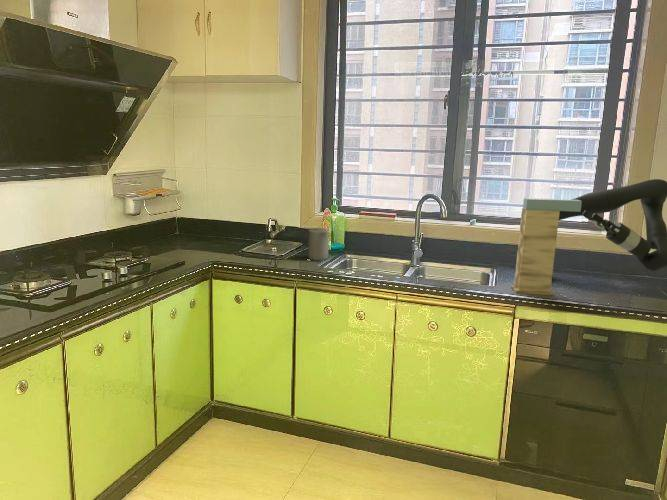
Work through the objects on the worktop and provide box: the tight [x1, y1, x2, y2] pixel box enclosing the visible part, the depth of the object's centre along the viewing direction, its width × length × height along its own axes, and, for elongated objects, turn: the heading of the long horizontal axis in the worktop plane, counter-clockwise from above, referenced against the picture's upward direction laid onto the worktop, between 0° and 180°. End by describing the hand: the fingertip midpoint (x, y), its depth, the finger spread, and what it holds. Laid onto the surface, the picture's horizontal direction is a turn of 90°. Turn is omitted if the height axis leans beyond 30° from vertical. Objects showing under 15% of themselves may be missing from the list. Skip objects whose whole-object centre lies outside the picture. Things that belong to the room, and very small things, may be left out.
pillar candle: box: [307, 227, 330, 261], centre depth 251 cm, size 10×10×15 cm
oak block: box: [510, 207, 560, 296], centre depth 202 cm, size 8×14×32 cm, turn 87°
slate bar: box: [522, 197, 582, 212], centre depth 198 cm, size 4×20×4 cm, turn 87°
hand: (588, 214), depth 198 cm, fingers open, 8 cm apart
